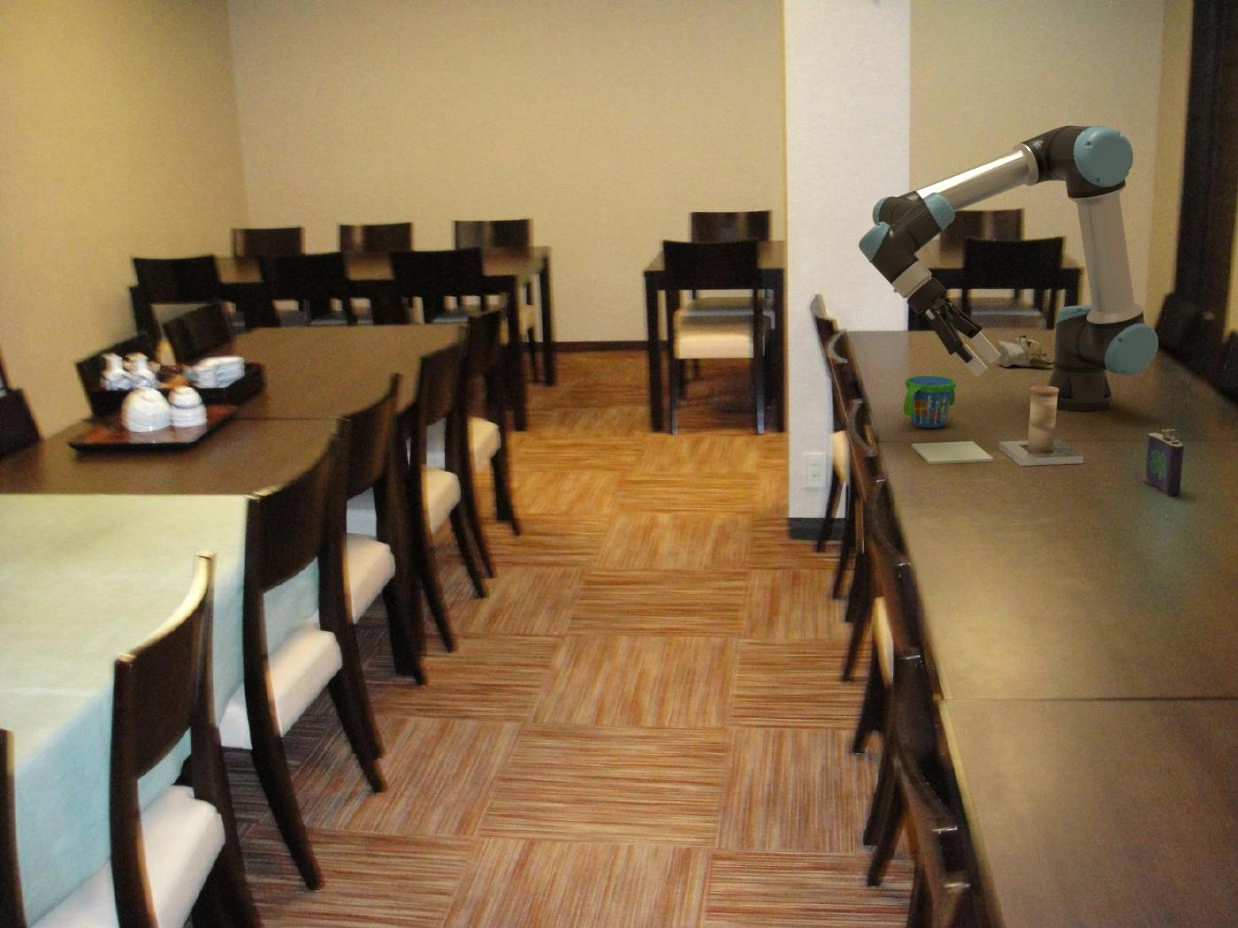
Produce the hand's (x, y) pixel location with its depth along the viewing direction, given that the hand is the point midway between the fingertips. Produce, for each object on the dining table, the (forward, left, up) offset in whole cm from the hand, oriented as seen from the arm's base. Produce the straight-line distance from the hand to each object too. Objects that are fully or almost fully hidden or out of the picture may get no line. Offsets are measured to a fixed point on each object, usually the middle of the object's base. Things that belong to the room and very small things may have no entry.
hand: (989, 366), depth 260 cm
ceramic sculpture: (-36, -76, -18) cm, 86 cm away
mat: (+7, +1, -18) cm, 19 cm away
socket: (-10, +5, -18) cm, 21 cm away
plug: (-10, +5, -18) cm, 21 cm away
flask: (-24, +29, -18) cm, 42 cm away
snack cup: (+5, -22, -18) cm, 29 cm away
